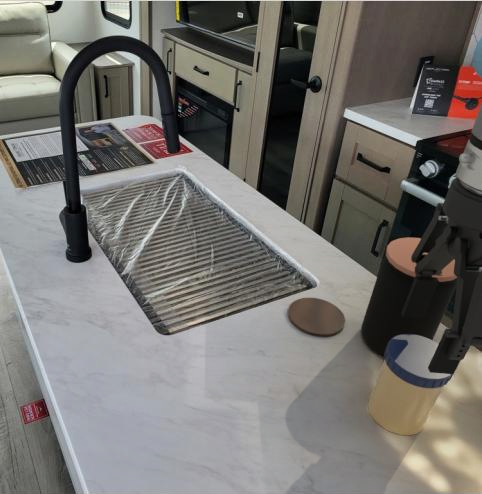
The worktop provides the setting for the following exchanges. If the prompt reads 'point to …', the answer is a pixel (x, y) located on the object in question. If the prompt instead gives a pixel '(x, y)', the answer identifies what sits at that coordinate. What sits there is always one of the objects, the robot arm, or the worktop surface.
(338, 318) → the coaster
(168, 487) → the worktop surface
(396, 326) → the coffee jar
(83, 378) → the worktop surface
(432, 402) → the jar
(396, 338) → the lid
